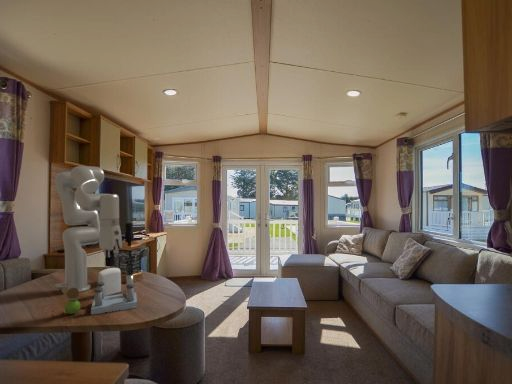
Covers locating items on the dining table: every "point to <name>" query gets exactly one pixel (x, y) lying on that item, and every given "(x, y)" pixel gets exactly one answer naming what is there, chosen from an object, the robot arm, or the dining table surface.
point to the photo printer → (110, 280)
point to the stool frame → (113, 300)
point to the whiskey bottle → (129, 256)
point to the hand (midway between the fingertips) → (110, 265)
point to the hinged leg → (129, 279)
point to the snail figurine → (71, 300)
